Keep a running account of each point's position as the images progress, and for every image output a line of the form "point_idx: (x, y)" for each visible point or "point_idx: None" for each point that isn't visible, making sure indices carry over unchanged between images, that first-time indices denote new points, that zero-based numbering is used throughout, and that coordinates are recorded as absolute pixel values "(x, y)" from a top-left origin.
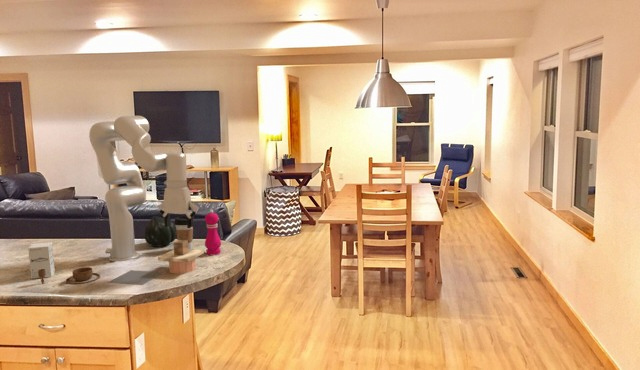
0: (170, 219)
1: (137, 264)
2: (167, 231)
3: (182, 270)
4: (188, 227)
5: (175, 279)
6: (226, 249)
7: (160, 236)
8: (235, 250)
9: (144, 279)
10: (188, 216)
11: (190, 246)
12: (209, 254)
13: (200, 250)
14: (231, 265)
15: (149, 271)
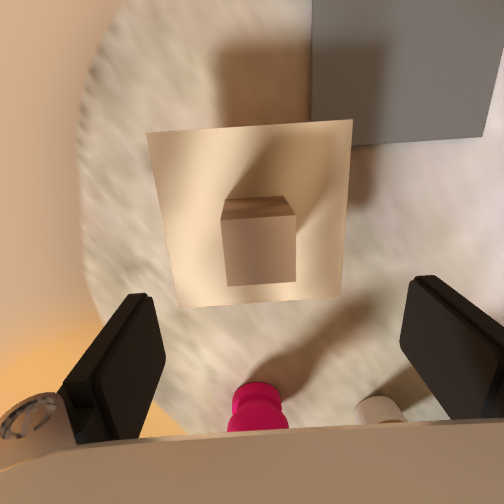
0: (437, 398)
1: (485, 232)
2: None
3: None
4: (131, 296)
5: (213, 83)
6: None
7: None
8: None
9: (351, 13)
10: (44, 425)
11: (358, 420)
12: (258, 383)
13: (189, 296)
14: (105, 307)
15: (385, 141)
